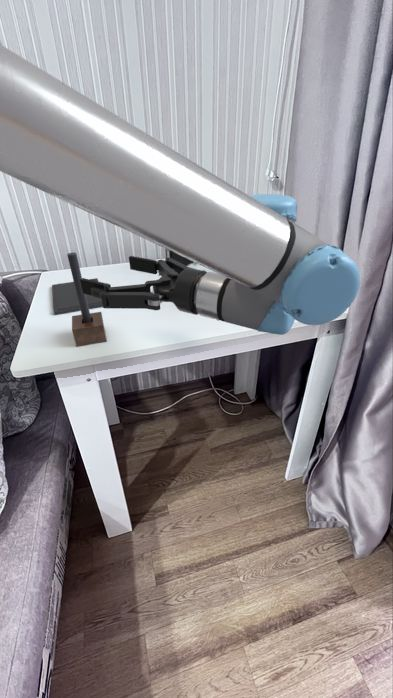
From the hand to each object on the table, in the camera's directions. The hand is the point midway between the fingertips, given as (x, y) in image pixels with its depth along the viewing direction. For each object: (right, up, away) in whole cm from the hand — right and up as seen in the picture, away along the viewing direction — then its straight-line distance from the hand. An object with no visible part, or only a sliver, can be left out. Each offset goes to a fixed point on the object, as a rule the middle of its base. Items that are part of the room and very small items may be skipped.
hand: (108, 273), depth 63 cm
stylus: (-8, -12, +14) cm, 20 cm away
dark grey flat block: (-18, +1, +33) cm, 37 cm away
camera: (+11, +16, +54) cm, 57 cm away
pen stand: (-8, -12, +14) cm, 20 cm away
